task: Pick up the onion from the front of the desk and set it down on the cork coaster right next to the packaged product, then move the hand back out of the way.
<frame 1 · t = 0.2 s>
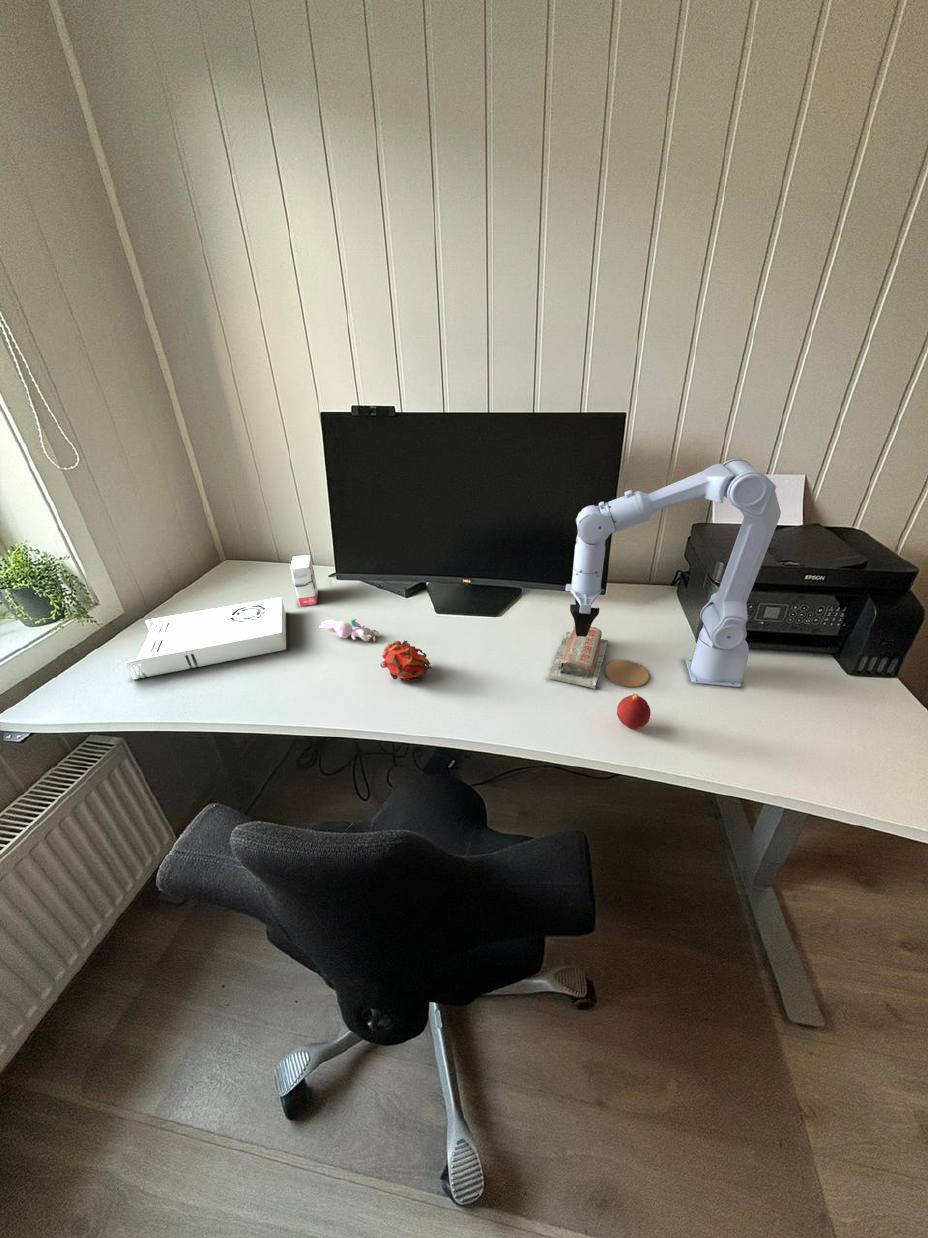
hand: (581, 625, 102), 10 cm above the table, tool pointing down, fingers open, 7 cm apart
dragon fruit: (407, 674, 106), on the table
ink box: (309, 599, 138), on the table
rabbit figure: (349, 637, 120), on the table
coaster: (626, 674, 104), on the table
packaged product: (579, 662, 108), on the table
onion: (630, 727, 90), on the table
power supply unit: (217, 643, 120), on the table
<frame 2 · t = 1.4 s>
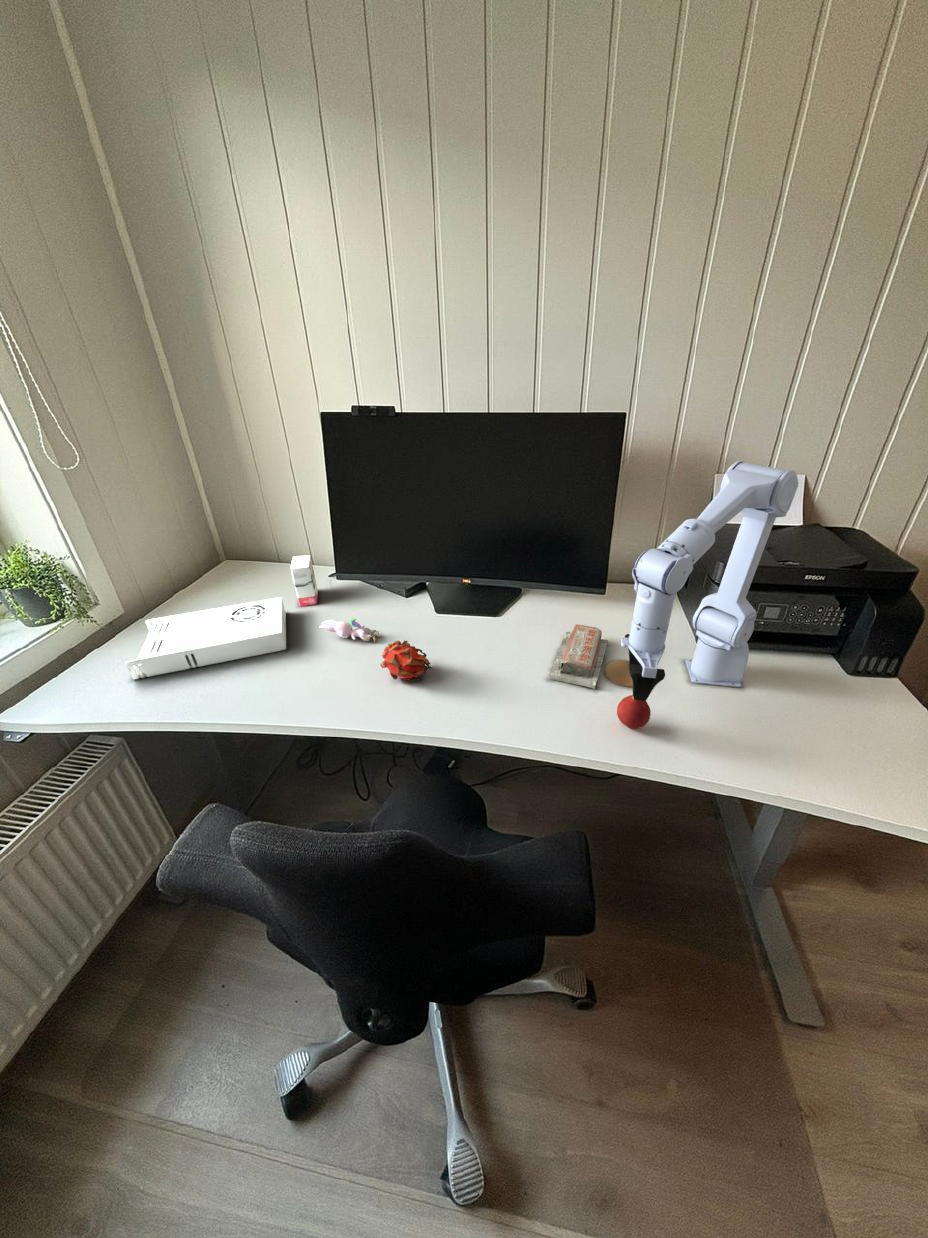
hand: (637, 685, 86), 9 cm above the table, tool pointing down, fingers open, 7 cm apart
nothing on the table moved.
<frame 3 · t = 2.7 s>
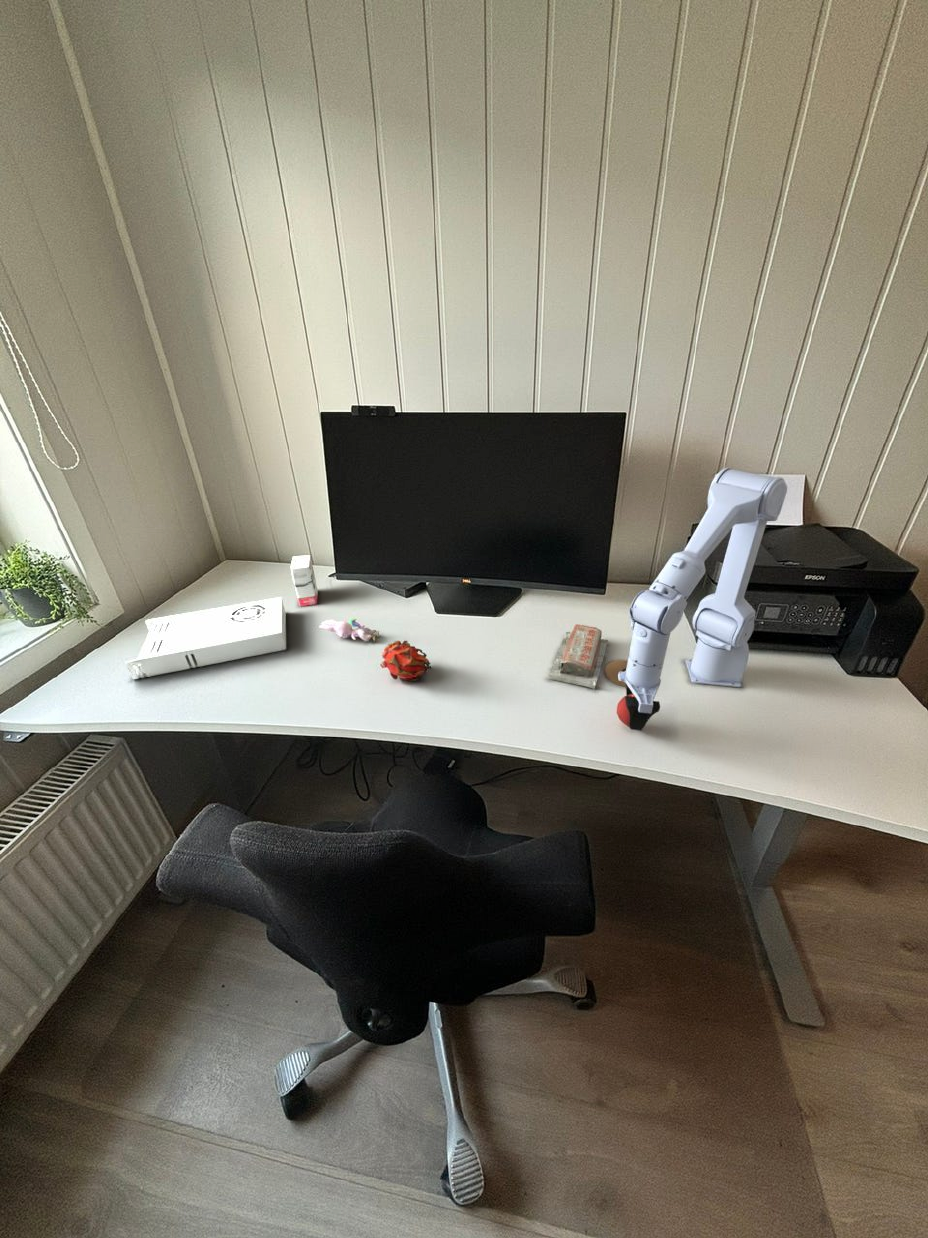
hand: (634, 716, 89), 2 cm above the table, tool pointing down, fingers closed on onion, 6 cm apart
onion: (630, 727, 90), on the table, touching gripper
everything else where it was.
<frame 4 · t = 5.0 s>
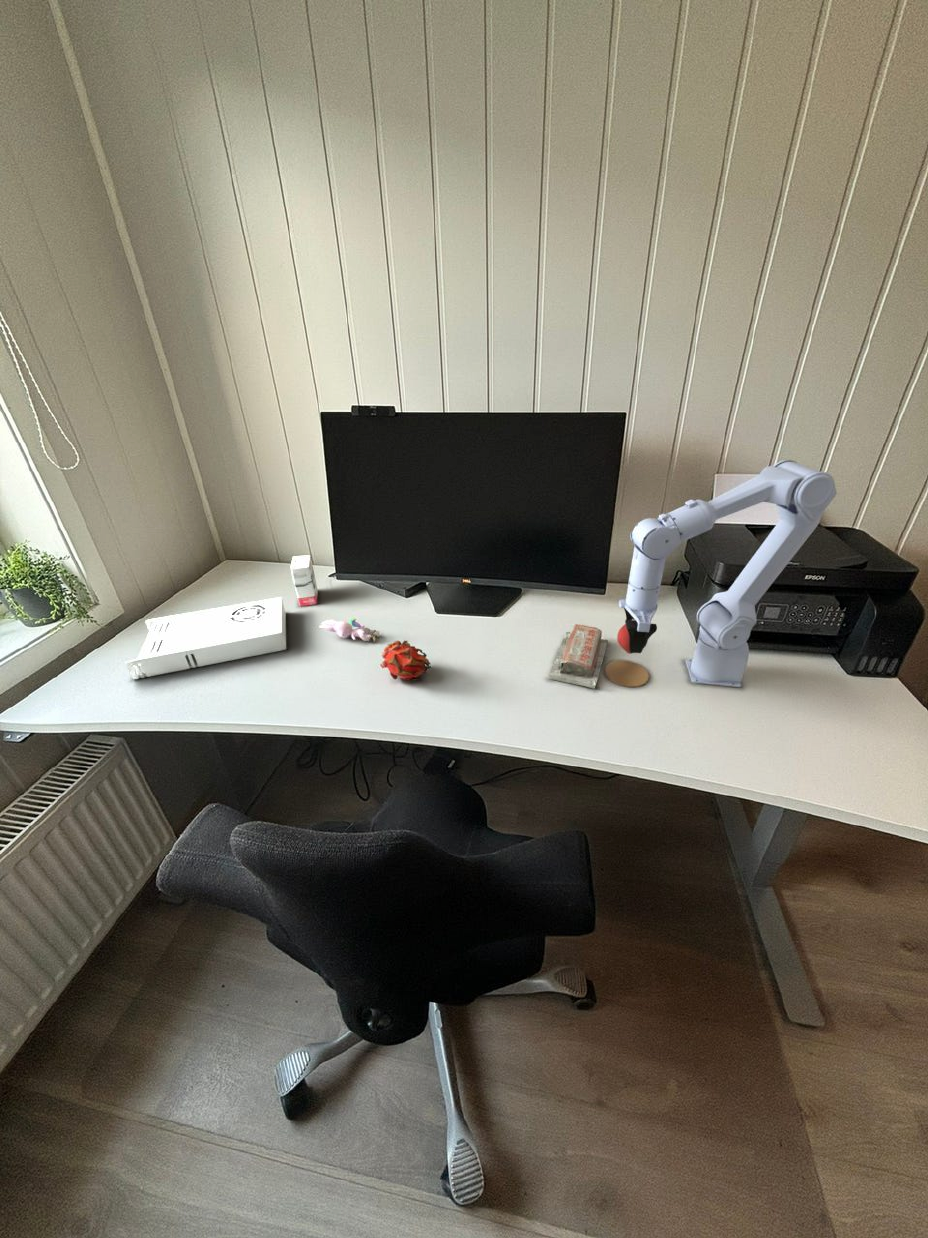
hand: (633, 642, 97), 9 cm above the table, tool pointing down, fingers closed on onion, 6 cm apart
onion: (629, 653, 99), point 7 cm above the table, touching gripper
everything else where it was.
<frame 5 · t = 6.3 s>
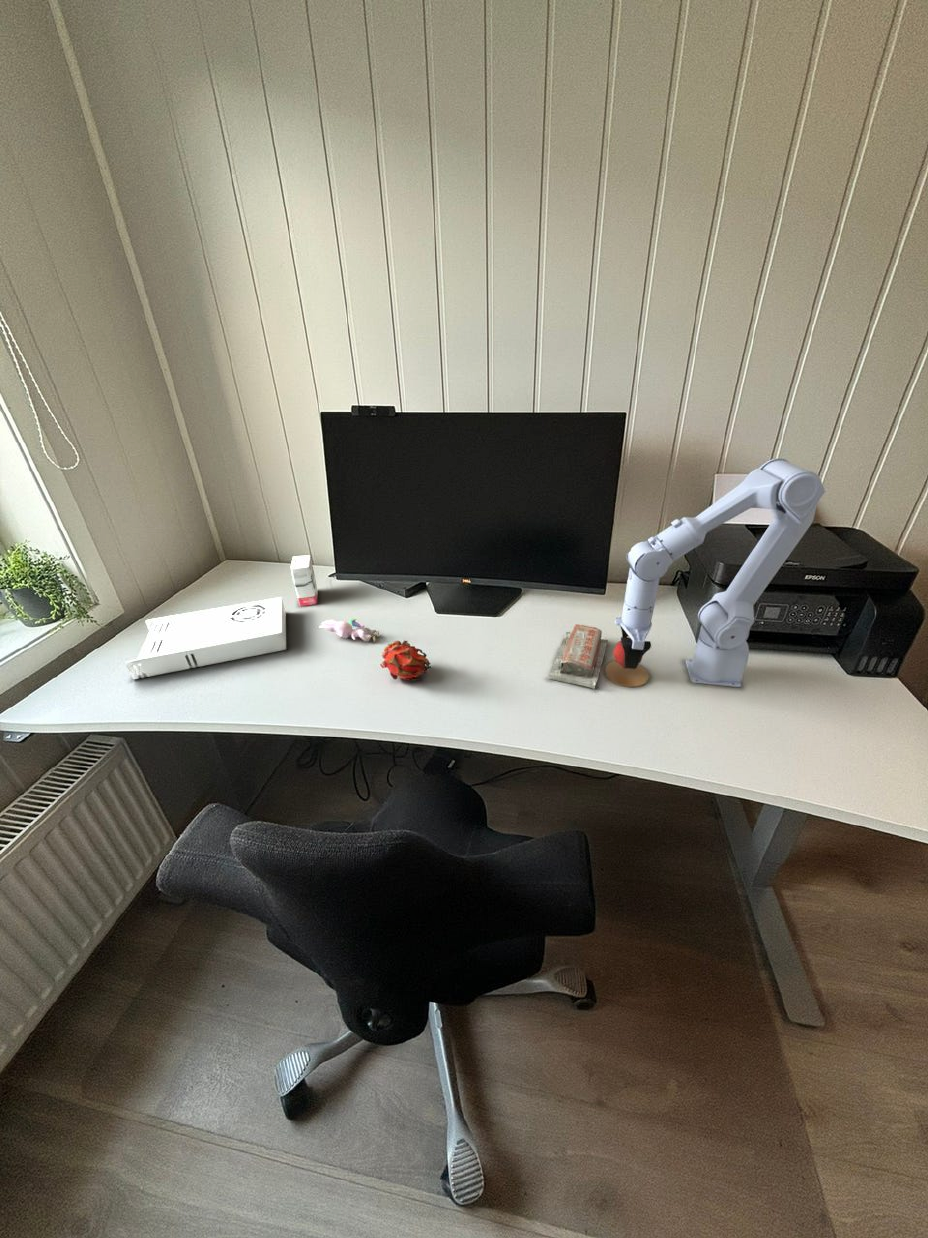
hand: (629, 658, 102), 4 cm above the table, tool pointing down, fingers closed on onion, 6 cm apart
onion: (625, 668, 103), point 2 cm above the table, touching gripper
everything else where it was.
when the fingers open (3 cm above the table, at t = 7.3 s): onion stays where it is, resting on coaster.
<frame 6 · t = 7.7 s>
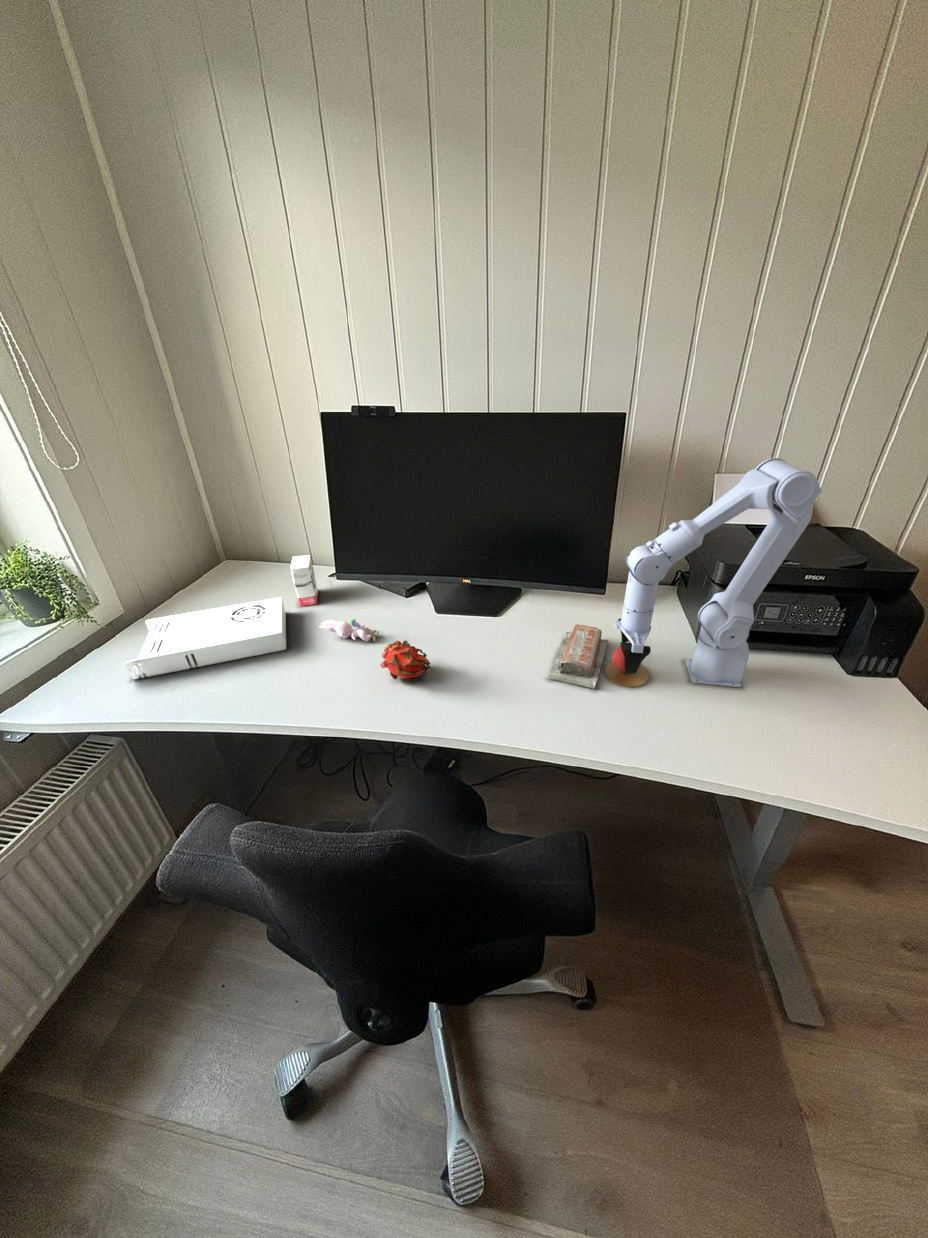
hand: (628, 661, 102), 3 cm above the table, tool pointing down, fingers open, 7 cm apart
onion: (624, 673, 104), resting on coaster
everything else where it was.
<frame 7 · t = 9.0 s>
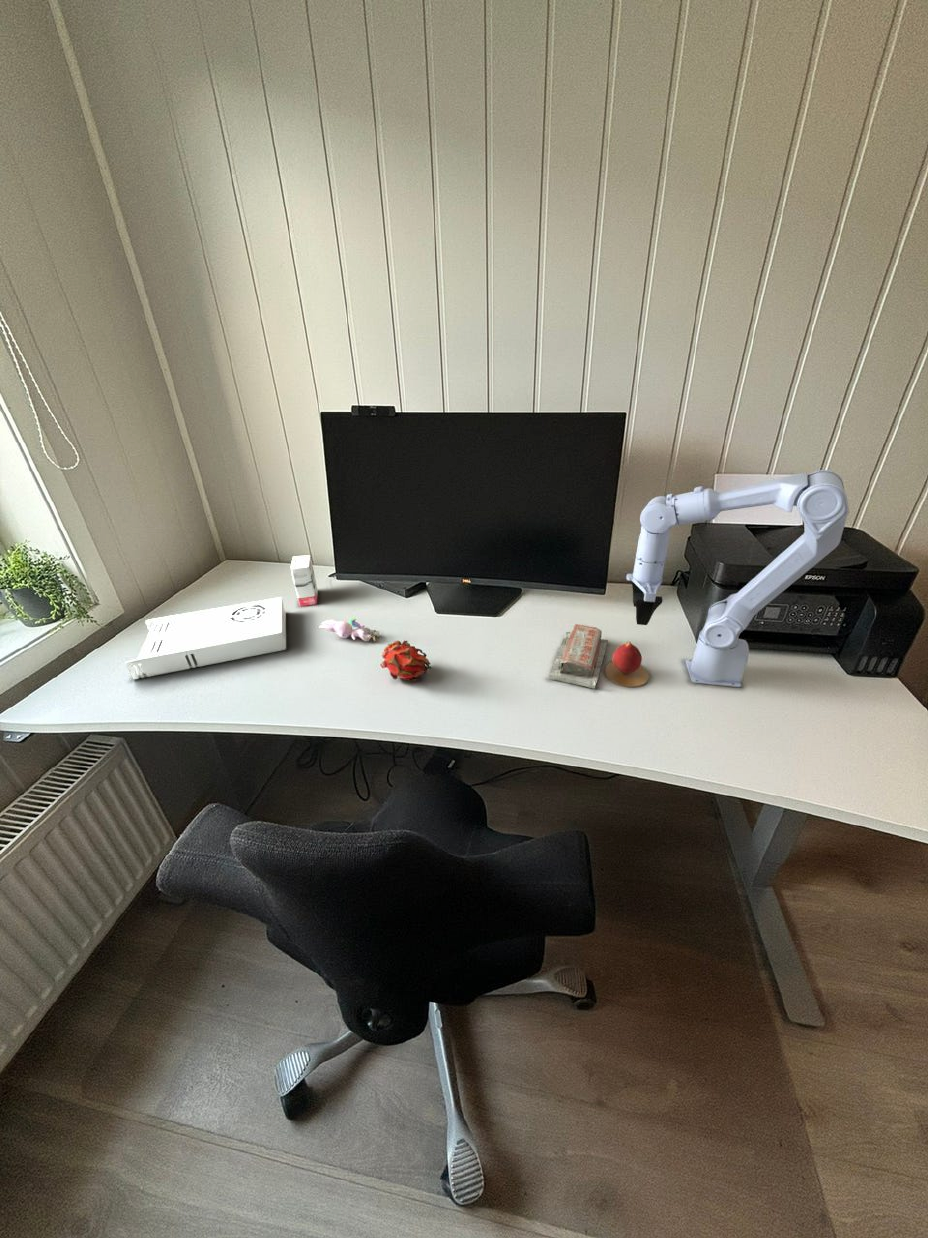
hand: (640, 614, 105), 10 cm above the table, tool pointing down, fingers open, 7 cm apart
nothing on the table moved.
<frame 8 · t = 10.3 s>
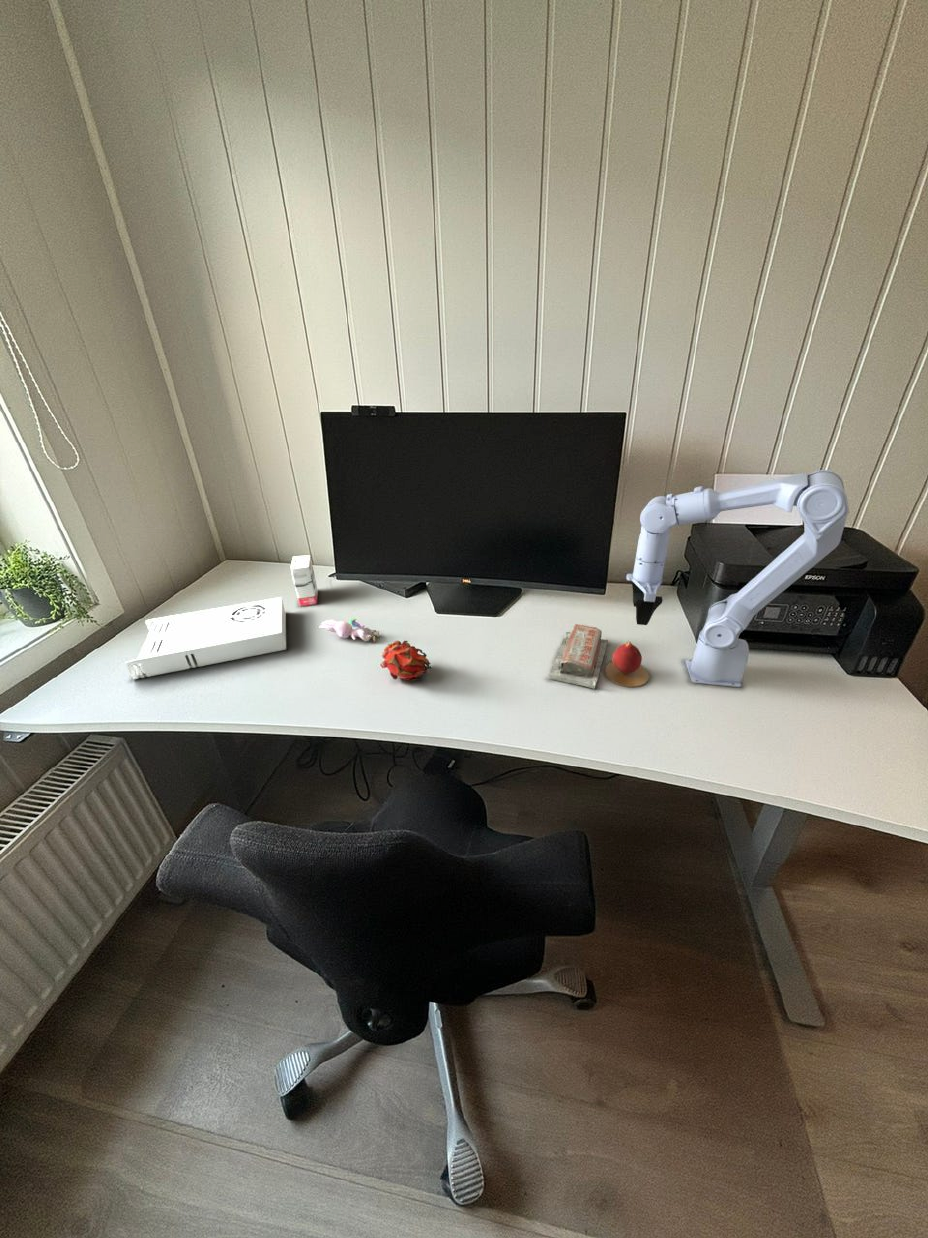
hand: (640, 614, 105), 10 cm above the table, tool pointing down, fingers open, 7 cm apart
nothing on the table moved.
at the end: onion 0.4 cm from the coaster (horizontally); onion 10.1 cm from the packaged product (horizontally); packaged product moved 0.2 cm from its start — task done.
